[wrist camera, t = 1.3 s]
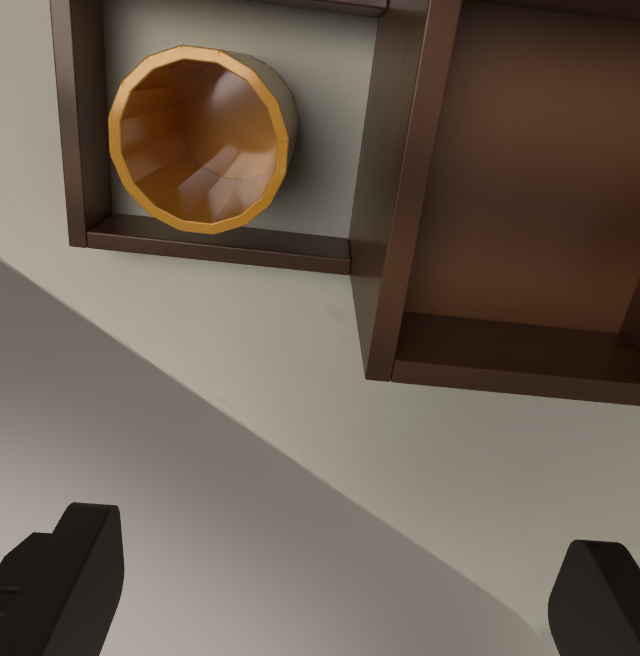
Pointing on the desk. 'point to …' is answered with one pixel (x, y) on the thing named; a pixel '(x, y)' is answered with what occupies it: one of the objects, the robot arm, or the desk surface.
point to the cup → (202, 137)
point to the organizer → (445, 192)
